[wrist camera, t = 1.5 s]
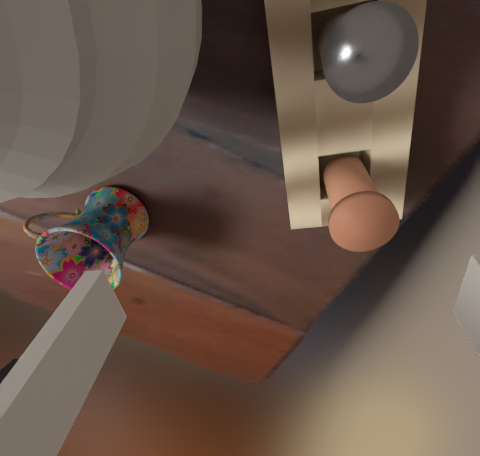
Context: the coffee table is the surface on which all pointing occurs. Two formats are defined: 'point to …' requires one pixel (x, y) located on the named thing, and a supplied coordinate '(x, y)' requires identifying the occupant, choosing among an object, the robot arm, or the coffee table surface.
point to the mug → (91, 237)
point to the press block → (333, 111)
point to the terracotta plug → (357, 206)
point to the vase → (89, 88)
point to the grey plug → (368, 50)
